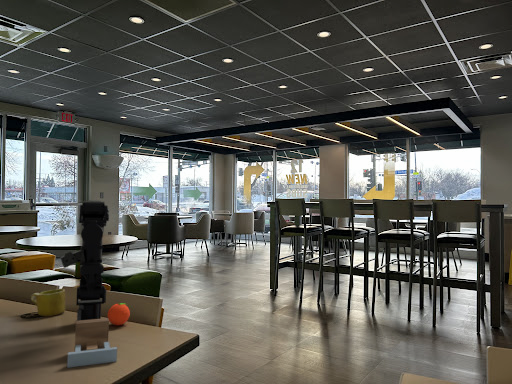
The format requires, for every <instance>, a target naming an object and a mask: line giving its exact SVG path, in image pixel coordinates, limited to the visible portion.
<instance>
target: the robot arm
mask: <svg viewBox="0 0 512 384" xmlns="http://www.w3.org/2000/svg"><path fill="white" fill-rule="evenodd" d="M82 201H83V202H82V204H80V207H79V215H78V216H79V217H78V218H79V219H78V224H81V227H82V230H81V232H80V237H81V245H80V250H77V251H73V252H72V251H69V252H65V253H64V255H62V256H60V261H61V264H62V266H63V268H64V269H65V268H68V267H70V266H72V265H75V264H78V263H79V274H80V275H81V277H80V279H79V286H77V287H76V303H75V304H76V306H78V308H77V310H76V311H77V313H76V320H75V322H76V321H80V320H92V319H102V318H101V317H102V305H104V304H105V303H107V302H106V301H107V289H106V287H105V285H103V278H102V274H104V271H105V266H104V264H103V259H102V256H103V247H104V246H103V235H104V233H105V227H107V222H109V219H110V210H109V208H108V205H106V202H105V201H101V200H82Z"/></svg>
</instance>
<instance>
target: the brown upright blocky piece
mask: <svg viewBox="0 0 512 384" xmlns="http://www.w3.org/2000/svg"><path fill="white" fill-rule="evenodd" d="M109 327H110V321H109V319H108V317H107V318H105V317H104V318H101V319H92V320H80V321H76V320H75V333H74V334H75V336H74V346H75V345H81V351H86V350H95V349H104V342H109V331H110V329H109Z"/></svg>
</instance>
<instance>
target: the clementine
mask: <svg viewBox="0 0 512 384" xmlns="http://www.w3.org/2000/svg"><path fill="white" fill-rule="evenodd" d="M128 306H129V307H130V308H132V307H131V305H130V304H128V305H127V303H124V302H123V303H122V302H121V303H120V302H119V303H115V304H113V305H112V306H111V307H110V308H109V309H108V311H107V318H108V319H109V324H112V325H114V326H122V325H124V324H125V323H126V322H127V321H128V320H129V318H130V315H131V312H130V308H129V307H128Z"/></svg>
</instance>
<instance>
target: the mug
mask: <svg viewBox="0 0 512 384" xmlns="http://www.w3.org/2000/svg"><path fill="white" fill-rule="evenodd" d="M30 300H31V301H32V303H33V304H34V305H35V307H36V309H37V314H38V315H39V316H40V317H41V316H42V317H54V316H56V315H57V316H58V315H60V314H63V313H64V312H65V311H66V290H65V289H63V288H61V289H60V288H59V289H58V288H57V289H50V290H45V291H41V292H40V293H39V292H35V293H33V294H31V295H30Z"/></svg>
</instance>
